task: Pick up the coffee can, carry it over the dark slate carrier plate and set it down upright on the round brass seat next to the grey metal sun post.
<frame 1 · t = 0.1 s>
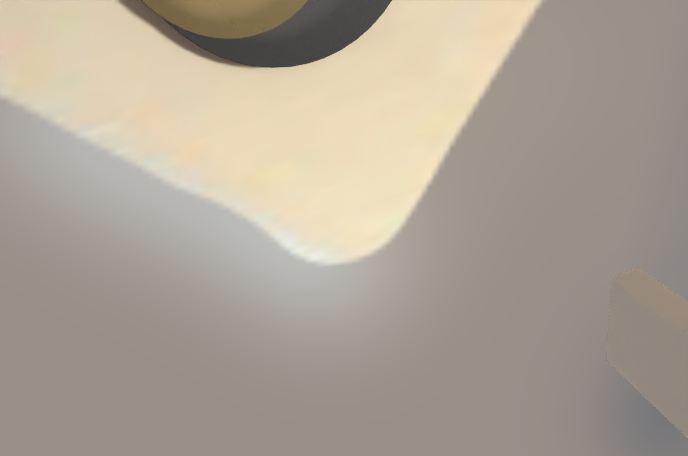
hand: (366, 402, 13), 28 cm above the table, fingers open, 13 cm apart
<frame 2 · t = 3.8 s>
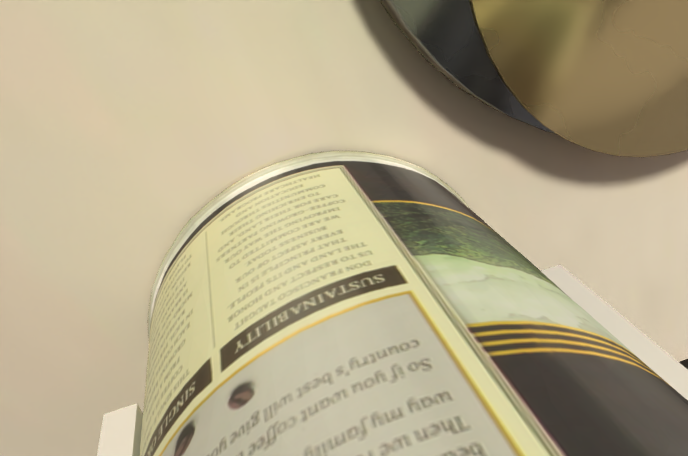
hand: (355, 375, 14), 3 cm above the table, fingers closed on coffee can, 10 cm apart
coffee can: (327, 309, 16), on the table, touching gripper
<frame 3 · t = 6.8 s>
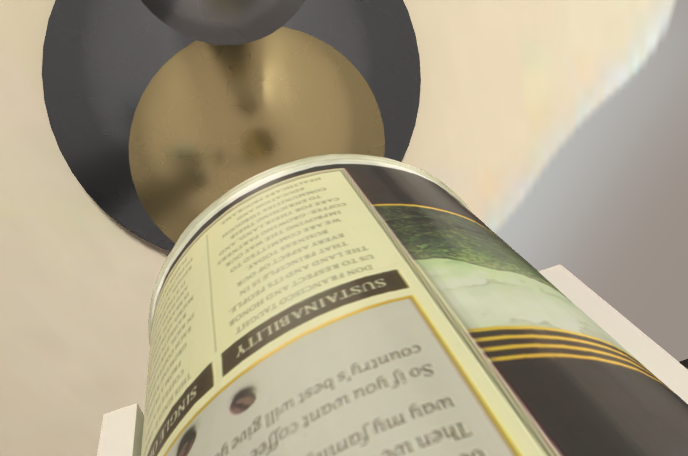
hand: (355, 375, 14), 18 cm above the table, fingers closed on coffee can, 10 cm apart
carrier: (246, 97, 28), on the table
coffee can: (327, 311, 16), point 15 cm above the table, touching gripper
when the fingers open (5 cm above the table, at t = 9.9 s): coffee can drops 1 cm, resting on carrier.
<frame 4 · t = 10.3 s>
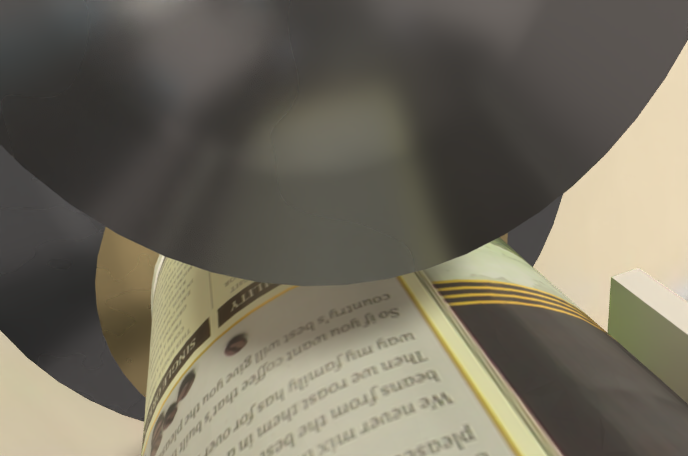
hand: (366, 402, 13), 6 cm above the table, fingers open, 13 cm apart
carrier: (291, 190, 17), on the table
coffee can: (318, 288, 17), point 1 cm above the table, touching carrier
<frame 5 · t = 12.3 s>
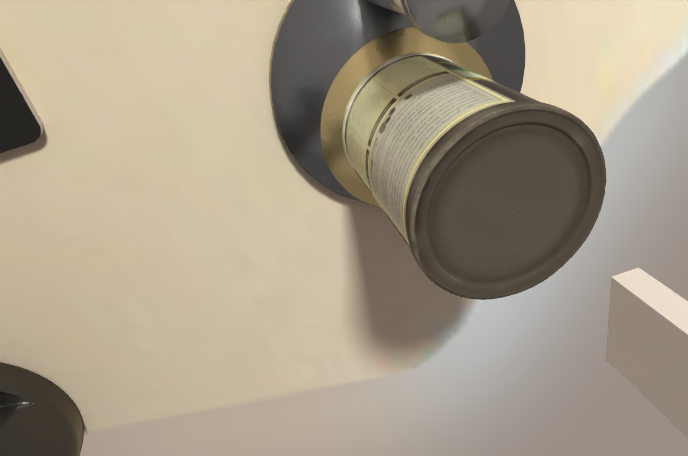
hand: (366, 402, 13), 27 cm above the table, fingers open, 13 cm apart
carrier: (399, 79, 38), on the table
coffee can: (410, 125, 39), point 1 cm above the table, touching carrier
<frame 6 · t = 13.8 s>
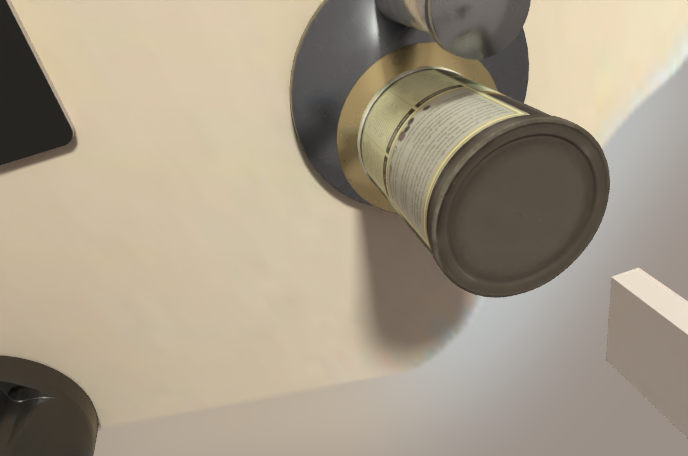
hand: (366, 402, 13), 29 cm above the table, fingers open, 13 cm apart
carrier: (410, 90, 40), on the table
coffee can: (420, 134, 41), point 1 cm above the table, touching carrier
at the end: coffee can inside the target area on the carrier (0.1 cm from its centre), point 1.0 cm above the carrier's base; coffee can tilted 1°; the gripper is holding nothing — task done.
